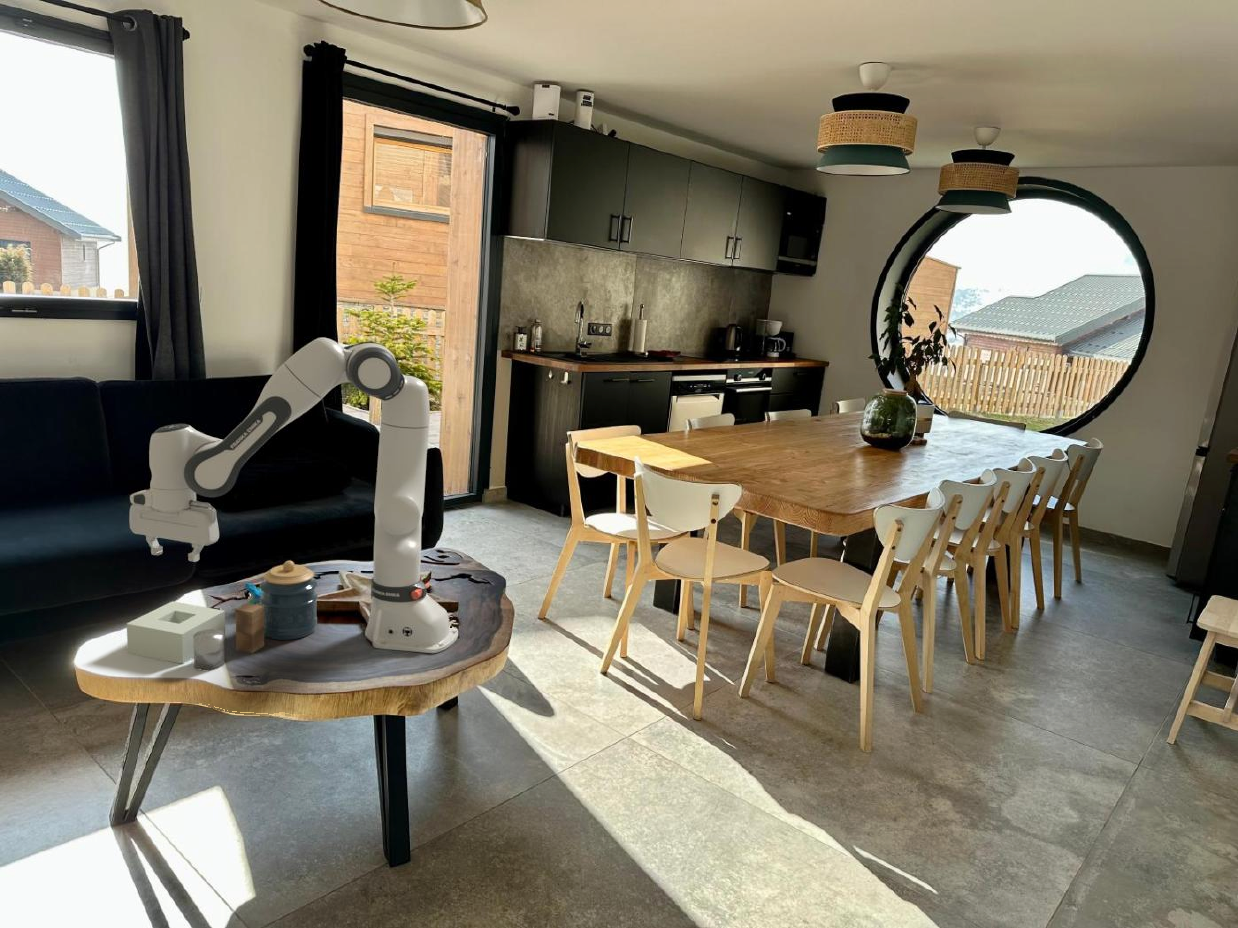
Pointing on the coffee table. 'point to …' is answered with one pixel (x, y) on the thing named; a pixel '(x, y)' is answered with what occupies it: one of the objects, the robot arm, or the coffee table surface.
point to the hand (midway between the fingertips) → (175, 557)
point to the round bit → (208, 649)
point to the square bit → (249, 628)
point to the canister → (289, 602)
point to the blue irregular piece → (254, 593)
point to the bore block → (171, 631)
